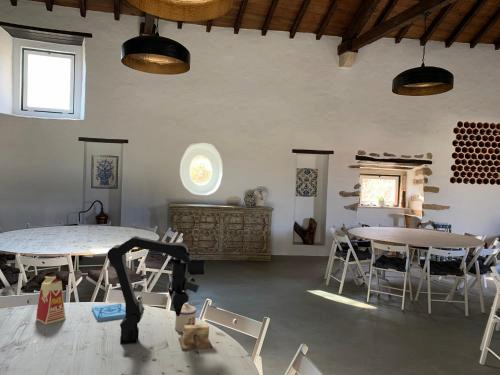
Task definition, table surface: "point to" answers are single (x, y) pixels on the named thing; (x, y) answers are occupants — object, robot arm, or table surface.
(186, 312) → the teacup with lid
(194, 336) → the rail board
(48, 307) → the milk carton
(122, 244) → the robot arm
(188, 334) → the tan notched block
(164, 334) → the table surface
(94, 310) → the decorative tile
